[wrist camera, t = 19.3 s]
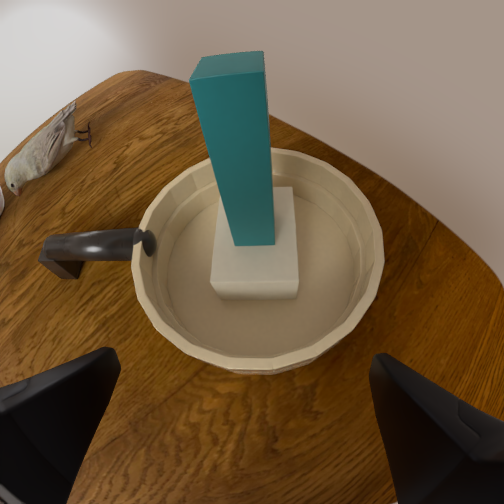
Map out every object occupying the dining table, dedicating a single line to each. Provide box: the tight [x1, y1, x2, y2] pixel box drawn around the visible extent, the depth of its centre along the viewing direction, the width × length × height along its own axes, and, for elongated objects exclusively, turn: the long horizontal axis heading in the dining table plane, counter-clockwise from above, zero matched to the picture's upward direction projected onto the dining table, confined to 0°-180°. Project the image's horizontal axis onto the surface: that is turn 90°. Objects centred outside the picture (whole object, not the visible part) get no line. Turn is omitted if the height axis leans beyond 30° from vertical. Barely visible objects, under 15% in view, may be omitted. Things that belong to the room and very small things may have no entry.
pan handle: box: [38, 227, 157, 279], centre depth 19 cm, size 2×12×5 cm, turn 88°
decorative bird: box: [5, 100, 92, 196], centre depth 27 cm, size 5×16×8 cm, turn 121°
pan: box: [131, 147, 385, 374], centre depth 17 cm, size 15×15×4 cm
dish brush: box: [189, 51, 299, 300], centre depth 13 cm, size 7×5×14 cm
